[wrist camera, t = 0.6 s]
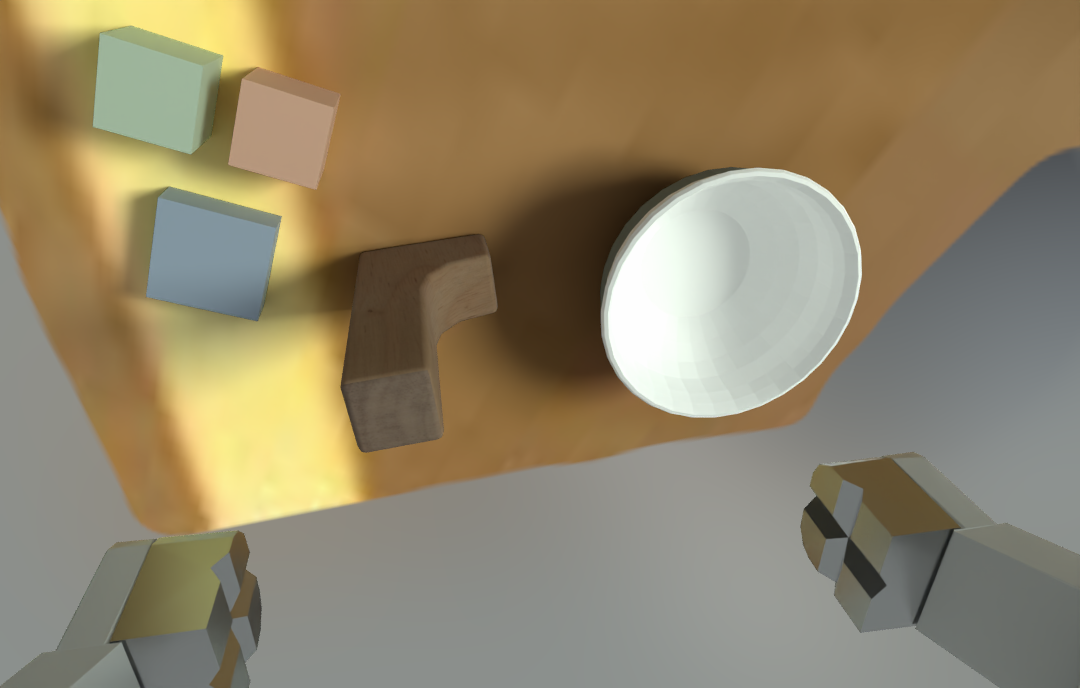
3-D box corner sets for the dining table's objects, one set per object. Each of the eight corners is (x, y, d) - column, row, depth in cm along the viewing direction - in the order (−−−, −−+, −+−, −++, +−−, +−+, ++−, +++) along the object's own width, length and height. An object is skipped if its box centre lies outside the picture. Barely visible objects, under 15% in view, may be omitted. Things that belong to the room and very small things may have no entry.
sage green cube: (132, 25, 40) (99, 33, 36) (223, 55, 42) (203, 66, 37) (124, 110, 42) (92, 126, 38) (211, 135, 44) (190, 154, 39)
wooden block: (483, 231, 50) (520, 352, 34) (491, 287, 52) (529, 425, 37) (358, 251, 49) (337, 384, 33) (372, 307, 51) (359, 457, 36)
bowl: (581, 141, 48) (612, 172, 41) (827, 137, 51) (896, 166, 44) (569, 371, 57) (593, 429, 50) (779, 356, 60) (830, 409, 53)
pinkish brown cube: (258, 66, 42) (241, 78, 38) (340, 93, 44) (334, 107, 40) (244, 145, 44) (228, 164, 40) (324, 168, 46) (316, 189, 42)
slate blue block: (169, 186, 45) (157, 197, 43) (281, 216, 47) (276, 228, 45) (157, 282, 47) (146, 296, 45) (263, 306, 50) (257, 321, 48)
